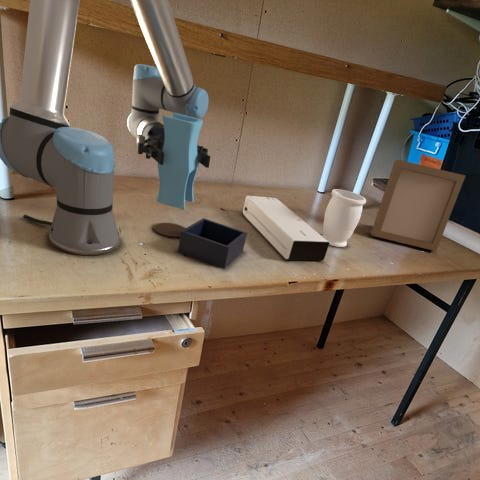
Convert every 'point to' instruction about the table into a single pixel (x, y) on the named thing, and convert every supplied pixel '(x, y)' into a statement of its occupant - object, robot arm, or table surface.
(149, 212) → the table surface
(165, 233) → the coaster
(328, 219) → the jar
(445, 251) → the table surface
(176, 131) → the vase
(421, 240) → the photo frame
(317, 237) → the laminator
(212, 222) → the bin
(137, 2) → the robot arm
